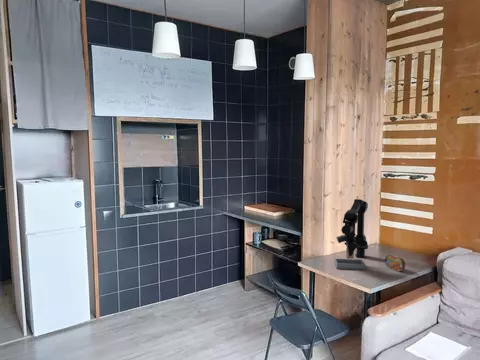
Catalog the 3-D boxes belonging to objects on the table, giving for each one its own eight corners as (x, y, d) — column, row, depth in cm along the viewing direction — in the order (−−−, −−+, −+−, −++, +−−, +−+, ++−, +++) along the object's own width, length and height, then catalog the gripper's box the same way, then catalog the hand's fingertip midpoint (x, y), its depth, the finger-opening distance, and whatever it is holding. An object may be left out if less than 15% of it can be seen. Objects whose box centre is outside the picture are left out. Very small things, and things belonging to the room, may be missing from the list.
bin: (334, 263, 246) (334, 258, 245) (361, 264, 244) (361, 259, 243) (336, 268, 235) (336, 263, 235) (365, 270, 233) (365, 264, 233)
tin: (384, 266, 242) (384, 253, 241) (388, 265, 243) (388, 252, 242) (402, 273, 228) (402, 259, 227) (405, 272, 229) (406, 259, 228)
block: (346, 256, 241) (346, 247, 241) (352, 256, 241) (352, 247, 240) (347, 258, 237) (347, 249, 237) (353, 258, 237) (353, 249, 236)
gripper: (335, 228, 248) (335, 251, 249) (339, 234, 229) (339, 259, 231) (352, 228, 246) (352, 251, 248) (358, 235, 228) (357, 260, 229)
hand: (349, 255), depth 239 cm, fingers closed on block, 4 cm apart
